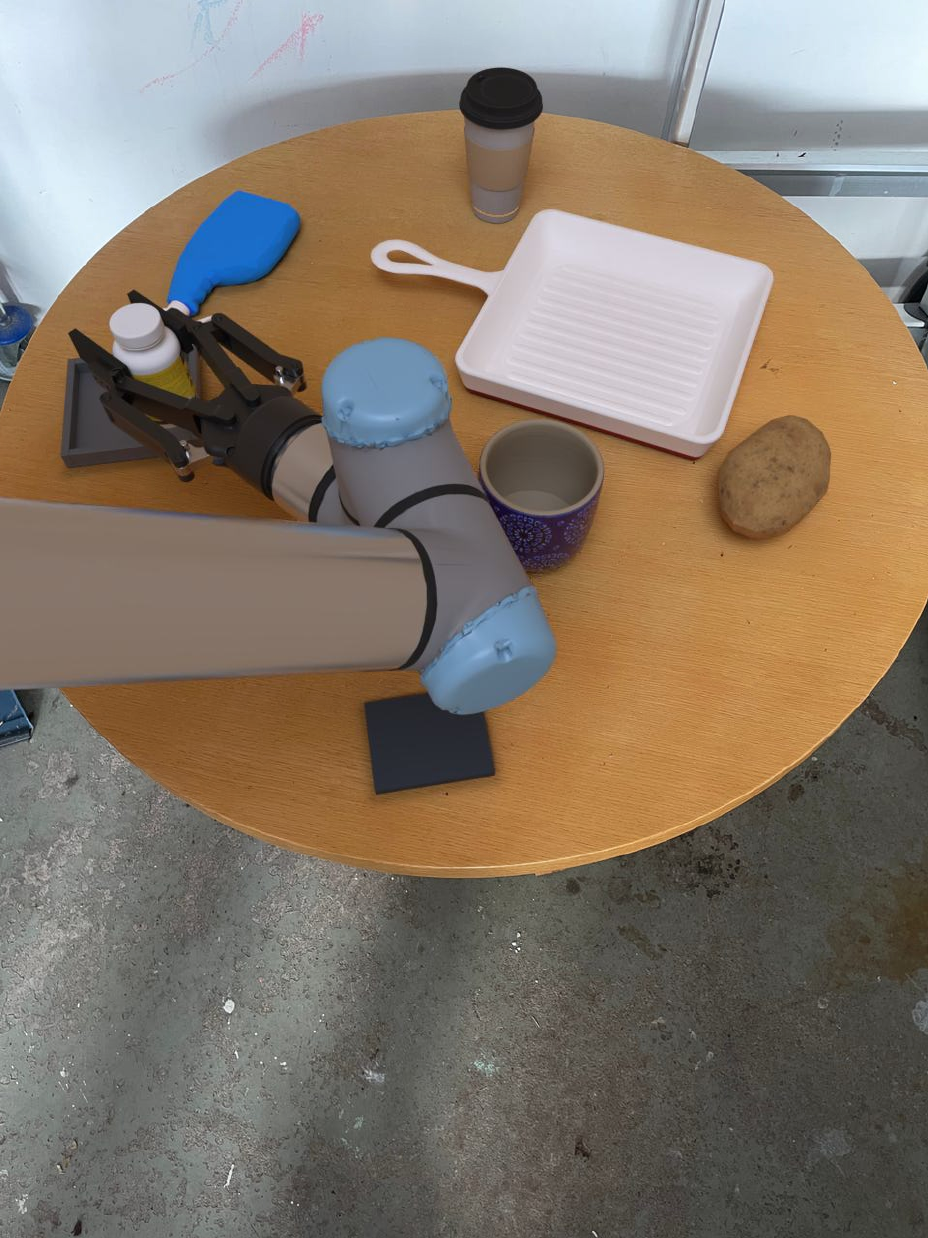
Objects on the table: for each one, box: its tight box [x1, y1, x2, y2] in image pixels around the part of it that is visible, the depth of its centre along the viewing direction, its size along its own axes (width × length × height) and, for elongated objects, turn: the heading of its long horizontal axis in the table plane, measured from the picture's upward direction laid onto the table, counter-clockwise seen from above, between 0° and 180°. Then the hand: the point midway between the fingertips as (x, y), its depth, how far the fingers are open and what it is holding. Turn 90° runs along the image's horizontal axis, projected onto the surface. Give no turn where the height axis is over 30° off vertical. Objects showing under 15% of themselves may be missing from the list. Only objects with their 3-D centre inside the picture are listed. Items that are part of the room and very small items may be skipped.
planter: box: [477, 418, 605, 573], centre depth 79 cm, size 11×11×11 cm
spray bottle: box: [162, 189, 302, 345], centre depth 101 cm, size 3×11×24 cm
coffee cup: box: [458, 66, 544, 224], centre depth 102 cm, size 9×9×15 cm
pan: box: [370, 208, 775, 461], centre depth 96 cm, size 28×44×5 cm, turn 68°
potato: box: [718, 414, 832, 539], centre depth 83 cm, size 10×14×8 cm
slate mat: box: [363, 692, 496, 796], centre depth 73 cm, size 10×8×1 cm
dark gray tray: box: [60, 345, 204, 469], centre depth 91 cm, size 14×14×2 cm
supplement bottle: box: [108, 303, 199, 428], centre depth 72 cm, size 5×5×10 cm
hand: (107, 323), depth 73 cm, fingers closed on supplement bottle, 5 cm apart
